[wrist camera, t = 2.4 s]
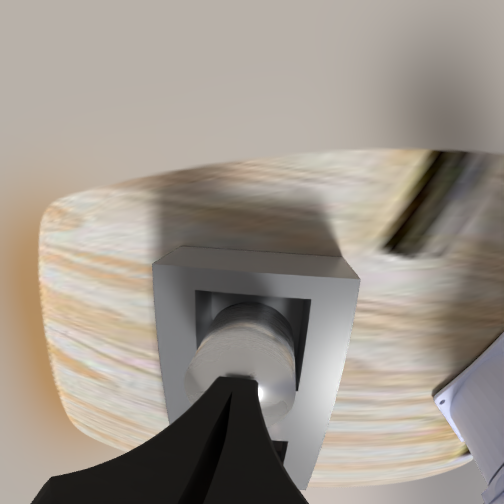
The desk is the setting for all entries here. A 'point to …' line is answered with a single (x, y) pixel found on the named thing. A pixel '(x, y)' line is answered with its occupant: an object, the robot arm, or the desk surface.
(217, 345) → the aluminium plunger
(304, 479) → the block
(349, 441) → the desk surface
